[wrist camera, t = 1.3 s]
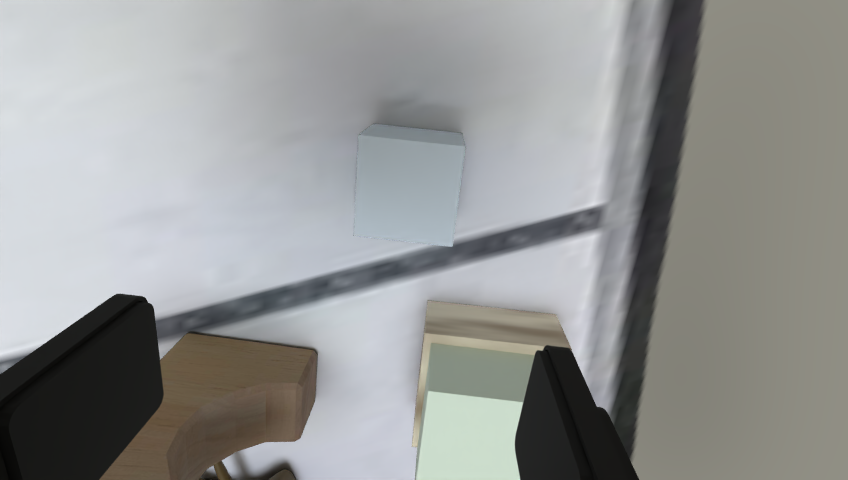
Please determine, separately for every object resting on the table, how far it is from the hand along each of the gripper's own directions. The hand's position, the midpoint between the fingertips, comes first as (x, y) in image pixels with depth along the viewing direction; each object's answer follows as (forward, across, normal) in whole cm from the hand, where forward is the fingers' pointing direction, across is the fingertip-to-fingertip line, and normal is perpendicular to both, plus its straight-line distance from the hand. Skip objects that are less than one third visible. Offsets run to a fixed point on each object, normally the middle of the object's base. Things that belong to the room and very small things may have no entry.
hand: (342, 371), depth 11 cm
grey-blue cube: (+22, 0, 0) cm, 22 cm away
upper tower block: (+17, -8, +15) cm, 24 cm away
